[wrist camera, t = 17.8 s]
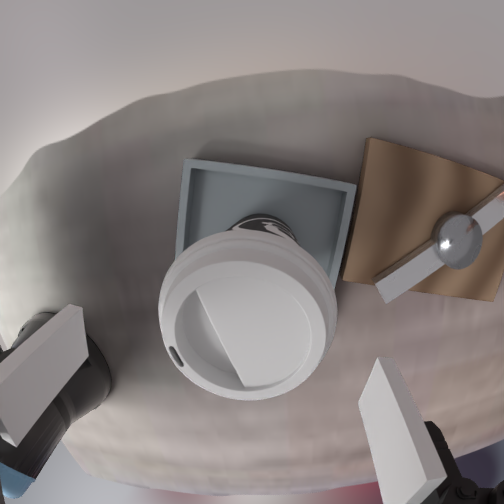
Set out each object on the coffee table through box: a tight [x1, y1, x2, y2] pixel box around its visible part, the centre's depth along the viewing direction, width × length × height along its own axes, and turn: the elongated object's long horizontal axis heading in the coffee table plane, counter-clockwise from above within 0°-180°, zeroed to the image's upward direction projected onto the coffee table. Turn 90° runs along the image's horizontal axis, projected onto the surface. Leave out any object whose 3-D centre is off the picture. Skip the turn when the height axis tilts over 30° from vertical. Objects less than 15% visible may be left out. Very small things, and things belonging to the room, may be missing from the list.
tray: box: [175, 158, 357, 289], centre depth 28 cm, size 14×14×2 cm
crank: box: [372, 184, 504, 304], centre depth 22 cm, size 19×5×7 cm, turn 125°
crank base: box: [340, 137, 504, 302], centre depth 27 cm, size 19×13×2 cm
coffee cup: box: [158, 214, 337, 400], centre depth 22 cm, size 10×10×15 cm
